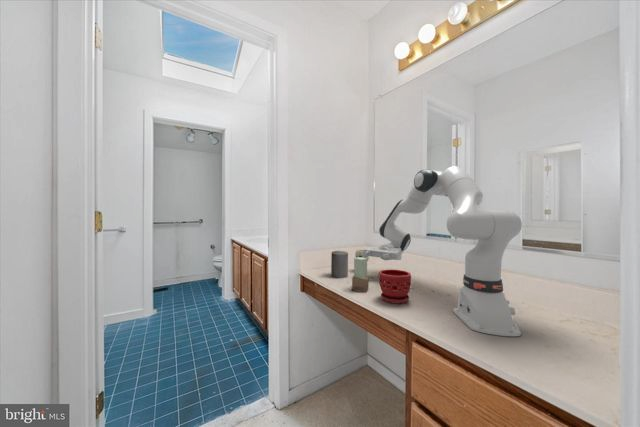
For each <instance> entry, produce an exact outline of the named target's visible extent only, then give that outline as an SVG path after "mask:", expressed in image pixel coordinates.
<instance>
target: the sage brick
mask: <svg viewBox="0 0 640 427" xmlns="http://www.w3.org/2000/svg"><path fill="white" fill-rule="evenodd" d="M353 263H354V264H353V268H354V269H353V276H354V277H357V278H361V279H363V278H365V277H367V275H368V260H367V258H363V257H357V258H356V257H354V258H353Z"/></svg>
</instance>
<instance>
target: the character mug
mask: <svg viewBox="0 0 640 427" xmlns="http://www.w3.org/2000/svg"><path fill="white" fill-rule="evenodd" d="M357 257H363V258H367V261H368V260H369V257H370V256H365V255H363V249H356V250H355V256H354V258H357Z"/></svg>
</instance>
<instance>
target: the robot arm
mask: <svg viewBox="0 0 640 427" xmlns="http://www.w3.org/2000/svg"><path fill="white" fill-rule="evenodd" d="M433 195H435V196H442V197H443V196H444V197H448V199H449V201H450V203H451V205H452V208H453V211H452V212H451V213H450V214H449V216H448V217H447V220H446V230H447V231H448V233H449V234H450V235H451V236H452V237H453V238H457V239H461V240H468V241H469V240H473V241H474V240H477V243H476V244H475V246H474V247H473V248H472V249H470V250H469V251H468V252H466V254H465V257H464V258H465V259H464V260H465V261H464V274H463V279H462V282H463V283H462V284H463V286H462V287H461V288H460V289H459V290H458V297H457V307H454V308H453V309H452V312H453V313H454V314H455V315H456V316H457V317H458V318H459V320H461V321H462V322H463V323H464V324H465V325H466V326H467V327H468V328H470V330H473V331H475V332H479V333H482V334H488V335H492V336H502V337H520V336H521V335H522V334H521V333H522V332H521V330H520V329H519V328H520V327H518V325H517V323H516V321H515V319H514V317H513V316H514V315H515V314H516V309H515V307H510V306H509V305H510V300H508V299H507V298H506V295H505V293H504V284H503V280H502V277H501V276H502V264H503V263H502V262H503V261H502V260H503V256H504V253H505V250H506V248H507V247H508V245H509V244H510V242H511V240H512V239H513V238H515V237H516V236H517V235H519V234H520V233H521V231H522V227H523V225H522V224H523V223H522V219H521V218H520V216H519V214H517V213H515V212H513V211H510V210H506V209H500V208H499V209H498V208H497V209H495V208H494V209H493V208H492V209H485V208H482V207H480V205H481V203H482V201H483V199H484V198H483V197H484V194H483V192H482V191H481V189H480V188H479V186H478V185H477V184H476V183H475V181H474V180H473V178H472V176H470V174H468V172H466V170H464V169H463V168H462V167H459V166H450V167H448V168H446V169H445V170H443V171H441V170H432V169H421V170H419V171H418V172H417V173H416V174H415V175H414V179H413V185H412V186H411V188H410V190H409V192H408V194H407V196H406V197H405V199H400V200H399V201H397V203H396V204H395V205H394V207H392V208H393V209H391V211H390V213H389V214H388V216H387V217H386V219H385V220H384V222H383V223H382V224H381V225H380V227H379V229H378V232H379V235H380V236H381V237H382V238H384V239H385V240H388V241H389V242H390V243H384V244H381V245H380V246H379V247H378V248H374V247H368V248H363V249H362V250H363V255H365V256H369V257H373V258H380V259H381V260H382V261H383V260H384V261H391V260H394V261H395V260H397V261H401V260H402V255H403V253H405V252H404V251H405V250H407V249H408V247H409V246H410V244H411V240H412V238H411V235H410V233H408V231H406V230H404V229H402V228H401V227H400V226H397V225H396V224H395V222H396V220H397V219H398V217H399V216H400V215H401V213H405V214H413V215H416V214H420V213H423V212H424V211H425V210H426V208H427V207H428V205H429V204H430V201H431V200H432V197H433Z"/></svg>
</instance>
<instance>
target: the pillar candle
mask: <svg viewBox="0 0 640 427" xmlns="http://www.w3.org/2000/svg"><path fill="white" fill-rule="evenodd" d="M330 257H331V260H330V261H331V262H330V263H331V264H330V266H331V267H330V275H331V277H332V278H336V279H345V278H347V277H348V276H349V271H348V270H349V252H348V251H344V250H340V249H339V250H333V251H331V256H330Z"/></svg>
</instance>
